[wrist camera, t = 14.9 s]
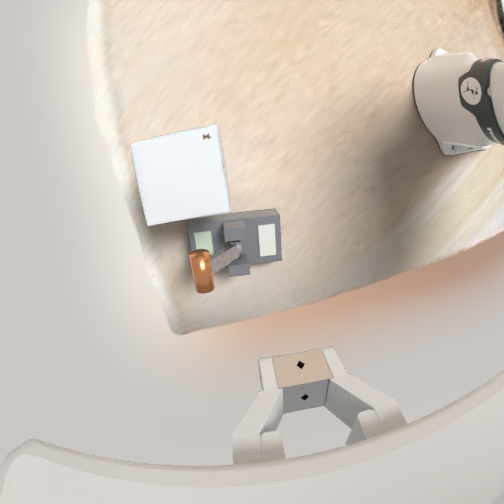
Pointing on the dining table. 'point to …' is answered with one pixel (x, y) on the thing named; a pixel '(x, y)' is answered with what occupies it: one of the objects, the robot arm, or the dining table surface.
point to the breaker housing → (239, 236)
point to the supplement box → (182, 175)
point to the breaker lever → (212, 264)
